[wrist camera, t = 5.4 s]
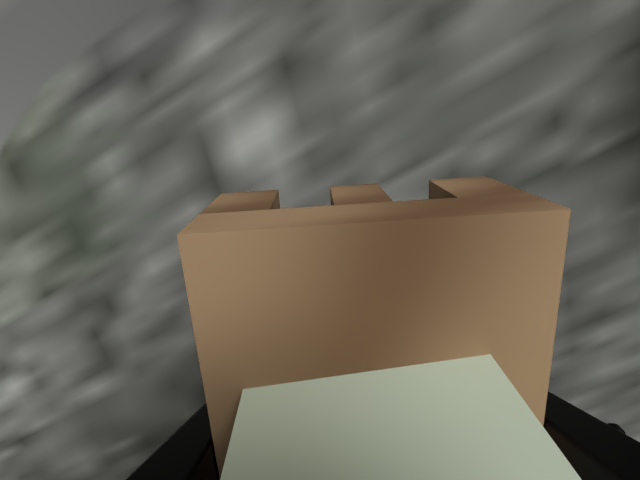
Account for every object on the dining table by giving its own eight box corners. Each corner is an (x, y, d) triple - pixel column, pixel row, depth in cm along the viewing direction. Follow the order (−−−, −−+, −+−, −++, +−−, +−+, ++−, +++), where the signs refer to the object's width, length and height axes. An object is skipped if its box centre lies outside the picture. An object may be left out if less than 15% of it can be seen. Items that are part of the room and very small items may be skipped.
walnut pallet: (485, 176, 9) (571, 209, 6) (465, 499, 11) (516, 629, 9) (221, 193, 9) (176, 234, 6) (265, 511, 11) (249, 646, 9)
